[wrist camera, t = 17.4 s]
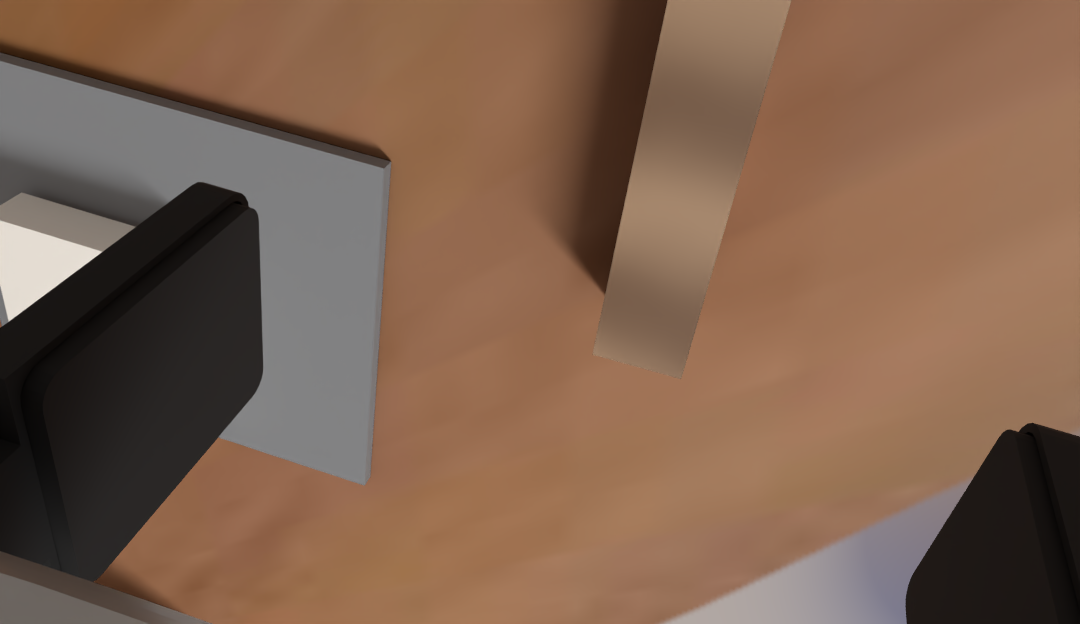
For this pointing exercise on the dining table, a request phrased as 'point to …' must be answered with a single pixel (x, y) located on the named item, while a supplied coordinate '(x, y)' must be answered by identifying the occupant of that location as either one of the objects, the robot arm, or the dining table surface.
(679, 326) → the tan rectangular bar
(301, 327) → the rubber mat
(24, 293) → the tile
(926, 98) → the dining table surface
